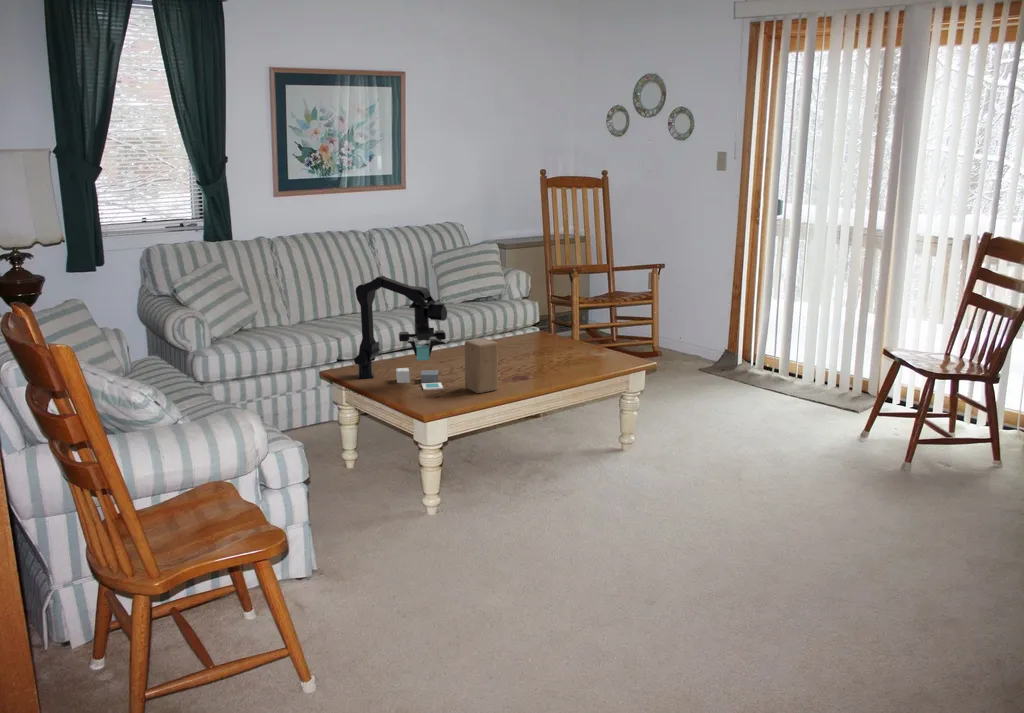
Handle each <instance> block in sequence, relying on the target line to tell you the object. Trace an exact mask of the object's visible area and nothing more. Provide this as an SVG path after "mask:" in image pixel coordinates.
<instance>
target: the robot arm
mask: <svg viewBox="0 0 1024 713" xmlns="http://www.w3.org/2000/svg"><path fill="white" fill-rule="evenodd" d="M381 288H383V289H386V290H388V291H391V292H394V293H395V294H399V295H403V296H405V297H406V298H407V299H408V300H409V301H412V303H411V304H410V305H409V306H408V308H409V309H413V311H414V312H413V313H414V333H409V331H400V332H398V340H399V342H407V343H408V344H410V345H411V347H412V350H413V353H414V355H415V357H417V352H416V346H417V345H416V341H415V339H417V341H419V342H421V341H425V342H426V341H428V347H429V357H430V356H431V353H432V351H433V350H432V349H433V348H434V346H435V343H437V342H438V340H439V341H440V340H443V341H444V340H446V339H447V338H446V337H447V336H446V334H447V333H446V332H445V331H444V330H443V329H441V330H435V329H434V327H430V320H431V321H442V322H443V321H446V319H447V316H448V310H447V308H446V304H445V303H443V302H441V303H436V301H435V300H434V298H433V296H432V295H431V293H430V291H429V288H427V287H423V286H419V285H418V286H416V285H410V284H409V285H408V284H405V283H404V282H400V281H398V280H394V279H392V278H389V277H387V276H385V275H380V276H377V277H375V279H373V280H370V281H368V282H365V283H364V282H363V283H362V284H359V285H357V286H356V288H355V291H354V292H355V296H356V299H357V300H356V301H357V302H358V304H359V307H360V322H361V324H360V325H361V341H360V345H359V348H358V349H359V351H358V355H357V356H355V358H353V362H354V363H355V365H358V366H357V367H358V370H357V371H358V373H357V379H374V376H375V375H374V373H373V362H374V361H375V360H376V357H377V356H378V355H379V353H380V351H381V349H380V341H376V339H375V337H374V336H375V335H374V318H373V317H374V316H373V314H374V313H373V303H374V300H375V298H376V291H378V290H379V289H381Z"/></svg>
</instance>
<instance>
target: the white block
mask: <svg viewBox="0 0 1024 713" xmlns="http://www.w3.org/2000/svg"><path fill="white" fill-rule="evenodd" d="M395 373H396V374H395V375H396V376H395V377H396V383H397V384H408V383H410V382H411V381H410V379H411V378H410V370H409V367H403V368H399V367H398V368H396V369H395Z"/></svg>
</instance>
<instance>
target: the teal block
mask: <svg viewBox="0 0 1024 713" xmlns="http://www.w3.org/2000/svg"><path fill="white" fill-rule="evenodd" d="M415 346H416V352H417V357H416V356H415V357H416V361H430V356H429V344H428V345H426V344H424V345H415Z"/></svg>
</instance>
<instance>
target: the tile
mask: <svg viewBox="0 0 1024 713" xmlns="http://www.w3.org/2000/svg"><path fill="white" fill-rule="evenodd" d="M442 384H443V383H442V382H438V383H422V384H421V387H422V389H423V391H434V390H435V391H437V390H438V391H439V390H444V386H443V385H442Z"/></svg>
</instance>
